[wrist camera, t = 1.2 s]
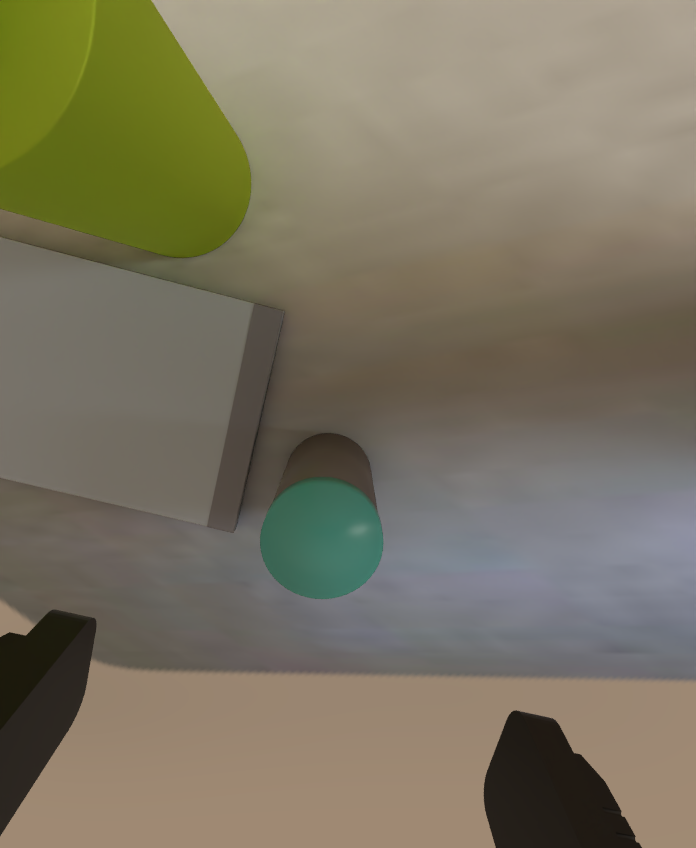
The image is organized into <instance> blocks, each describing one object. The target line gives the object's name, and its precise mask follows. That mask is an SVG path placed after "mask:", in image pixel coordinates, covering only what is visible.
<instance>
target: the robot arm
mask: <svg viewBox="0 0 696 848" xmlns="http://www.w3.org/2000/svg"><path fill="white" fill-rule="evenodd" d="M95 632H96V619H95V618H91V617H86V616H82V615H77V614H72V613H68V612H63V611H59V610H51V611H50V612H48V613H47V614H46V615H45V616H44V617H43V618H42V619H41V620H40V622H39V623H38V624H37V625H36V626H35V627H34V628H33V629H32V630H31V631H30V632H29V633H28V634H27V635H26V636H24V635H20V634H15V633H10V632H9V633H7V634H6V635H4V636H2V637H0V836H1V834H2V832H3V831H4V829H5V828H6V826H7V825H8V823H9V822H10V820H11V818H12V817H13V815H14V814H15V812H16V811H17V809H18V807H19V806H20V804H21V803H22V801H23V800H24V798H25V797H26V795H27V794H28V792H29V791H30V789H31V787H32V786H33V784H34V783H35V781H36V780H37V778H38V777H39V775H40V773H41V772H42V770H43V769H44V767H45V766H46V764H47V763H48V761H49V759H50V758H51V756H52V755H53V753H54V752H55V750H56V749H57V747H58V746H59V744H60V742H61V741H62V739H63V738H64V736H65V735H66V733H67V732H68V730H69V728H70V727H71V725H72V723H73V721H74V719H75V717H76V715H77V713H78V711H79V708H80V706H81V703H82V700H83V696H84V694H85V690H86V684H87V678H88V673H89V667H90V661H91V655H92V650H93V644H94V638H95ZM484 804H485V811H486V815H487V818H488V822H489V825H490V829H491V832H492V836H493V839H494V843H495V846H496V848H642V847H641V846H640V844H639V843H637V842H636V841H635V835H634V833H633V831H632V829H631V828H630V826H629V824H628V822H627V820H626V819H625V817H622V816H621V810H620V808H619V806H618V804H617V802H616V801H615V799H614V797H613V795H612V794H611V792H610V790H609V788H608V786H607V785H606V783H605V781H604V780H603V779H602V778H601V777H600V776H599V774H598V773H597V772H596V771H595V770H594V769H593V768H592V767H591V766H590V764H589V763H588V762H587V761H586V760H585V759H584V758H583V757H582V756H581V755H580V754H575V753H573V751H572V749H571V747H570V745H569V743H568V741H567V739H566V737H565V735H564V733H563V732H562V730H561V728H560V726H559V724H558V723H557V722H556V720H554V719H552V718H548V717H543V716H539V715H534V714H529V713H525V712H520V711H513V712H511V714H510V715H509V716H508V718H507V721H506V723H505V726H504V729H503V731H502V734H501V736H500V739H499V742H498V744H497V747H496V750H495V752H494V755H493V757H492V760H491V762H490V766H489V768H488V770H487V774H486V777H485V783H484Z"/></svg>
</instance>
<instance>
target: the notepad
mask: <svg viewBox="0 0 696 848" xmlns="http://www.w3.org/2000/svg"><path fill="white" fill-rule="evenodd" d="M284 313H285V311H282V310H279V309H275V308H271V307H267V306H263V305H259V304H256V303H252V302H248V301H244V300H240V299H236V298H233V297H229V296H225V295H221V294H217V293H213V292H210V291H206V290H202V289H198V288H194V287H190V286H187V285H183V284H179V283H175V282H171V281H168V280H164V279H160V278H156V277H152V276H148V275H145V274H141V273H137V272H133V271H129V270H125V269H122V268H118V267H114V266H110V265H106V264H102V263H99V262H95V261H91V260H87V259H83V258H79V257H76V256H72V255H68V254H64V253H60V252H56V251H53V250H49V249H45V248H41V247H37V246H33V245H30V244H26V243H22V242H18V241H14V240H11V239H7V238H3V237H0V478H3V479H7V480H12V481H16V482H20V483H24V484H29V485H33V486H37V487H41V488H46V489H50V490H54V491H59V492H63V493H67V494H71V495H76V496H80V497H84V498H88V499H93V500H97V501H101V502H105V503H110V504H114V505H118V506H123V507H127V508H131V509H135V510H140V511H144V512H148V513H152V514H157V515H161V516H165V517H169V518H174V519H178V520H182V521H187V522H191V523H195V524H199V525H204V526H207V527H210V528H215V529H219V530H223V531H227V532H232V533H234V531H235V529H236V527H237V522H238V518H239V513H240V509H241V504H242V500H243V495H244V491H245V486H246V482H247V478H248V473H249V469H250V464H251V460H252V455H253V451H254V446H255V442H256V438H257V433H258V429H259V424H260V420H261V415H262V411H263V406H264V402H265V398H266V393H267V389H268V384H269V380H270V375H271V371H272V366H273V362H274V358H275V353H276V349H277V344H278V340H279V335H280V331H281V326H282V322H283V317H284Z"/></svg>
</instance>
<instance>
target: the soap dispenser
mask: <svg viewBox="0 0 696 848" xmlns="http://www.w3.org/2000/svg"><path fill="white" fill-rule="evenodd" d="M250 193H251V174H250V167H249V162H248V159H247V156H246V153H245V150H244V148H243V145H242V143H241V141H240V140H239V138H238V136H237V135H236V133H235V131H234V130H233V128H232V127H231V125H230V124H229V122H228V120H227V119H226V117H225V116H224V114H223V113H222V111H221V109H220V108H219V106H218V105H217V103H216V102H215V100H214V98H213V97H212V95H211V94H210V92H209V91H208V89H207V87H206V86H205V84H204V83H203V81H202V80H201V78H200V76H199V75H198V73H197V72H196V70H195V69H194V67H193V65H192V64H191V62H190V61H189V59H188V58H187V56H186V54H185V53H184V51H183V50H182V48H181V47H180V45H179V43H178V42H177V40H176V39H175V37H174V36H173V34H172V32H171V31H170V29H169V28H168V26H167V25H166V23H165V21H164V20H163V18H162V17H161V15H160V14H159V12H158V10H157V9H156V7H155V6H154V4H153V3H152V1H151V0H0V209H3V210H7V211H10V212H14V213H17V214H21V215H24V216H28V217H31V218H35V219H38V220H42V221H45V222H49V223H52V224H56V225H59V226H63V227H66V228H70V229H73V230H77V231H80V232H84V233H87V234H91V235H94V236H98V237H101V238H105V239H108V240H112V241H115V242H119V243H122V244H126V245H129V246H133V247H136V248H140V249H143V250H147V251H150V252H154V253H157V254H161V255H164V256H169V257H177V258H187V257H195V256H199V255H203V254H206V253H208V252H210V251H212V250H214V249H216V248H218V247H219V246H221V245H222V244H223V243H225V242H226V241H227V240H228V239H229V238H230V237H231V236H232V235H233V234H234V232H235V231H236V230H237V228H238V227H239V225H240V224H241V222H242V220H243V218H244V216H245V213H246V211H247V208H248V204H249V200H250Z"/></svg>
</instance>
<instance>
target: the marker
mask: <svg viewBox="0 0 696 848" xmlns="http://www.w3.org/2000/svg"><path fill="white" fill-rule="evenodd" d="M260 547H261V553H262V557H263V560H264V562H265V565H266V567H267V568H268V570H269V572H270V573H271V574H272V576H273V577H274V578H275V579H276V580H277V581H278V582H279V583H280V584H281V585H283V586H284V587H285V588H287V589H288V590H290V591H292V592H294V593H296V594H299V595H301V596H305V597H309V598H315V599H329V598H335V597H340V596H343V595H346V594H348V593H350V592H353V591H354V590H356V589H357V588H359V587H360V586H362V585H363V584H364V583H365V582H366V581H367V580H368V579H369V578H370V577H371V576H372V574H373V573H374V572H375V570H376V568H377V566H378V564H379V562H380V559H381V556H382V551H383V534H382V527H381V522H380V518H379V515H378V512H377V506H376V499H375V493H374V487H373V480H372V474H371V468H370V463H369V460H368V458H367V456H366V454H365V453H364V451H363V450H362V448H361V447H360V446H359V445H358V444H356V443H355V442H354V441H352V440H351V439H349V438H347V437H345V436H342V435H339V434H332V433H325V434H319V435H315V436H312V437H310V438H308V439H306V440H305V441H303V442H302V443H301V444H299V445H298V446H297V447H296V449H295V450H294V451H293V453H292V454H291V456H290V458H289V461H288V464H287V466H286V469H285V471H284V474H283V477H282V479H281V482H280V485H279V487H278V490H277V493H276V495H275V498H274V501H273V503H272V504H271V506H270V508H269V510H268V512H267V515H266V518H265V520H264V523H263V526H262V529H261V536H260Z"/></svg>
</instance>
